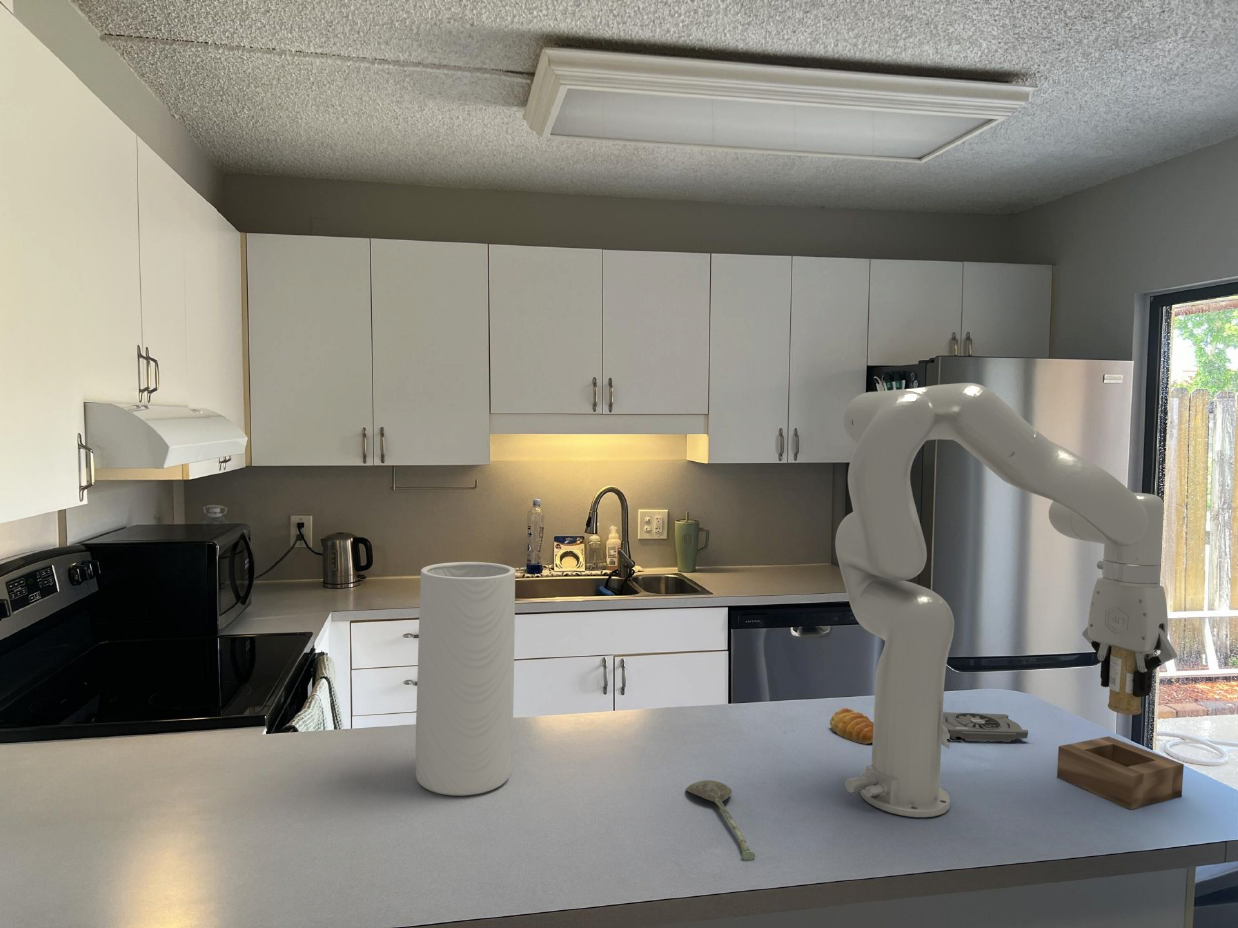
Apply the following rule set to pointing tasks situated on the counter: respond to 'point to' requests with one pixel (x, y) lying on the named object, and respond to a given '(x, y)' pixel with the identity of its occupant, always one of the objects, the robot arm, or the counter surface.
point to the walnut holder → (1120, 772)
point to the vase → (465, 677)
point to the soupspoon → (721, 807)
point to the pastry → (852, 726)
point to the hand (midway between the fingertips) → (1125, 689)
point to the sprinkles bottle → (1123, 682)
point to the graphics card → (980, 727)
